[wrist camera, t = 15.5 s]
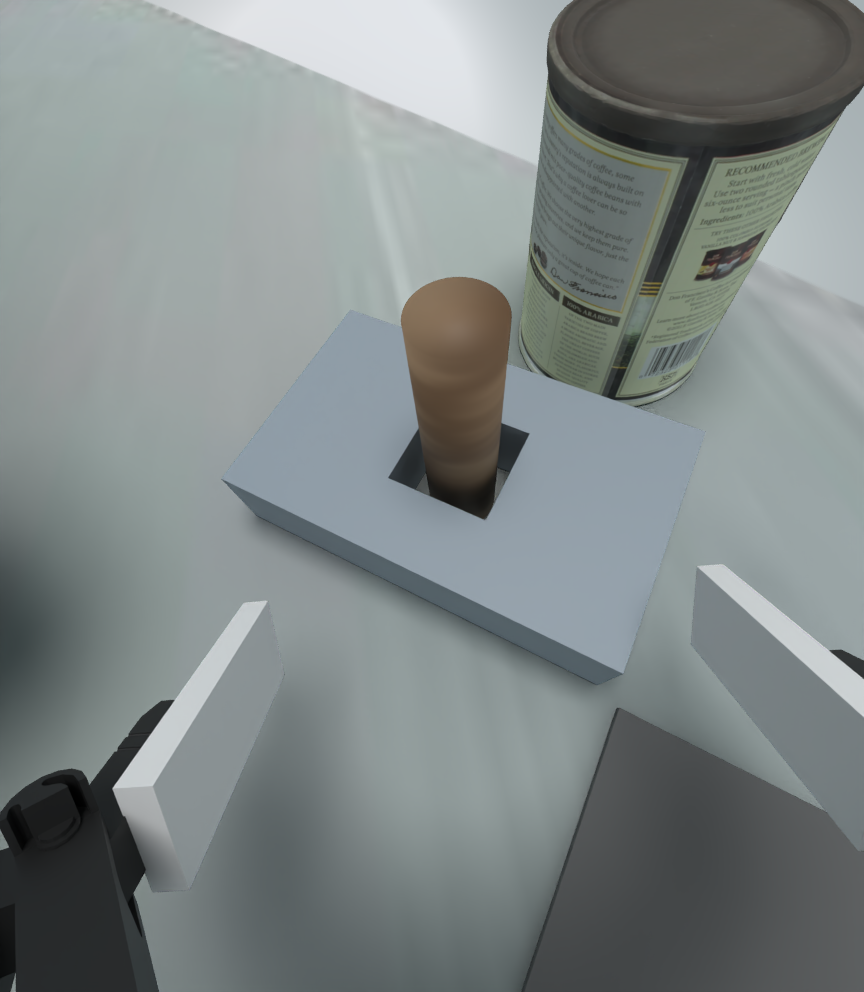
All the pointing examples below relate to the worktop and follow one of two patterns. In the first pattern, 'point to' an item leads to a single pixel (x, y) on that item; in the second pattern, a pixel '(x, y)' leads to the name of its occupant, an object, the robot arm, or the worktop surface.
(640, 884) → the mat
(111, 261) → the worktop surface
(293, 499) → the socket board
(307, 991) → the worktop surface
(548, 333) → the coffee can
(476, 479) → the dowel
